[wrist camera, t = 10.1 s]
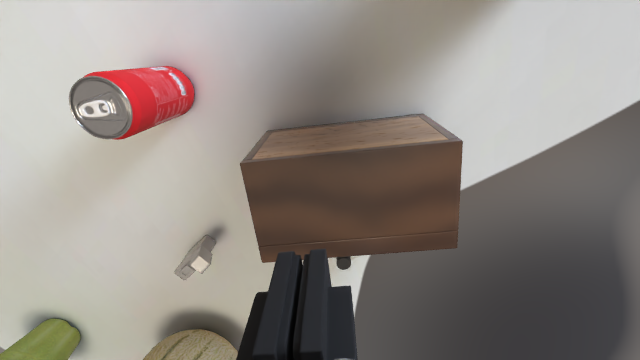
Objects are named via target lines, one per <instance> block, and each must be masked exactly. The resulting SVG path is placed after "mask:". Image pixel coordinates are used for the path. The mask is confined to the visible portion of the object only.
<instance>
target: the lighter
mask: <svg viewBox="0 0 640 360" xmlns="http://www.w3.org/2000/svg"><path fill="white" fill-rule="evenodd" d="M215 244H216V241H214V240H213V239H212V238H211V237H209V236H208V235H206V236H204V237H203V238H202V239H201V240H200V241H199V242H198V243H197V244H196V245H195V246H194V247H193V248H192V249H191V250H190V251H189V252H188V253H187V255H186V256H185V258H184V259H183V260H182V262H181V263H180V265H179V266H178V267H177V269H176V270H175V271H174V273H175V274H176V275H177V276H179V277H180V278H181V279H183V280H186V279H187V278H188V277H190V276H191V275H192V274H193V273H194V272H195V271H196V270H197V271H198V272H200V273H201V274H202V273H203V272H204V271H205V270H206V269H207V268H208V267H209V266H210V265H211V260H212V253H211V251H212V249H213V248H214V246H215Z"/></svg>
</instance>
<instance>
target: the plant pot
mask: <svg viewBox="0 0 640 360" xmlns="http://www.w3.org/2000/svg"><path fill="white" fill-rule="evenodd" d="M79 342H80V334H79V331H78V330H77V329H76V328H74V327H71V326H70V325H69V324H68V322H66V321H64V320H60V319H48V320H46V321H44V322H43V323H41V324H40V325H39V326H37V327H36V328H35V329H33V330H32V331H31V332H29V333H28V334H27V335H25V336H24V337H23V338H21V339H20V340H19V341H17V342H16V343H15V344H13V345H12V346H11V347H9V348H8V349H7V350H5V351H4V352H3V353H1V354H0V360H68V358H69V357H70V355H71V354H72V352H73V351H74V349H75V348H76V346H77V345H78V343H79Z"/></svg>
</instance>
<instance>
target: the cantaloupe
mask: <svg viewBox="0 0 640 360" xmlns="http://www.w3.org/2000/svg"><path fill="white" fill-rule="evenodd" d="M237 355H238V352H237V350H236V349H235V348H234V347H233V346H232V345H231V343H230V342H229V341H227V340H226V339H225V338H223V337H221V336H219V335H218V334H216V333H214V332H211V331H206V330H203V329H194V330H184V331H181V332H177V333H175V334H173V335H171V336H168V337H166V338H165V339H164V340H162V341H161V342H159V343H158V344H157V345H156V346H155V347H154V348H152V350H151V351H150V352H149V353H148V354H147V355H146V356H145V358H144V359H143V360H236V358H237Z"/></svg>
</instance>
